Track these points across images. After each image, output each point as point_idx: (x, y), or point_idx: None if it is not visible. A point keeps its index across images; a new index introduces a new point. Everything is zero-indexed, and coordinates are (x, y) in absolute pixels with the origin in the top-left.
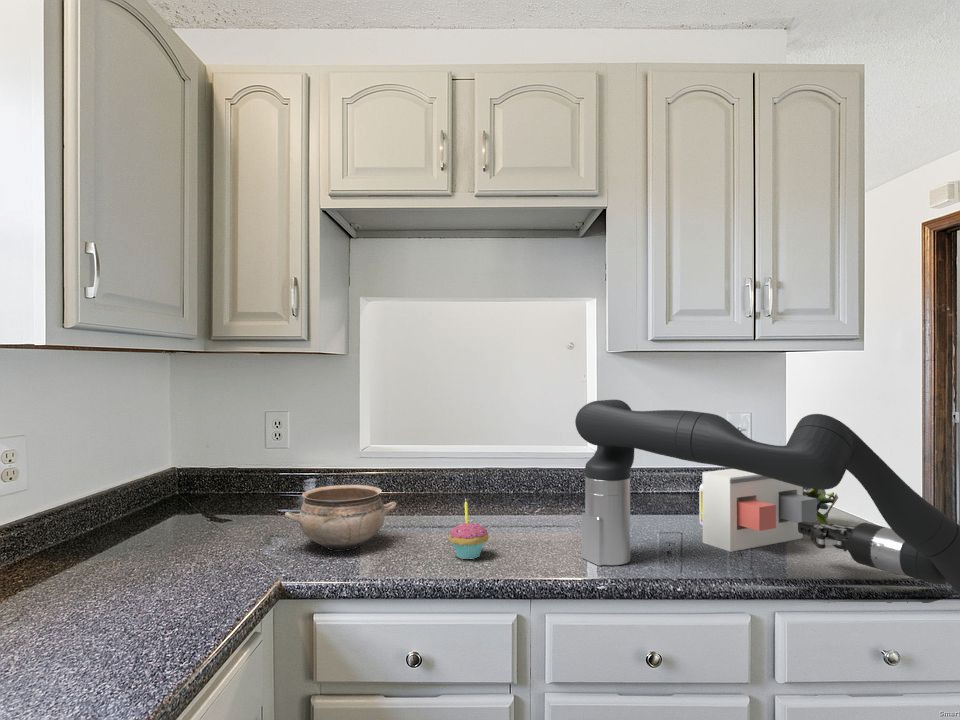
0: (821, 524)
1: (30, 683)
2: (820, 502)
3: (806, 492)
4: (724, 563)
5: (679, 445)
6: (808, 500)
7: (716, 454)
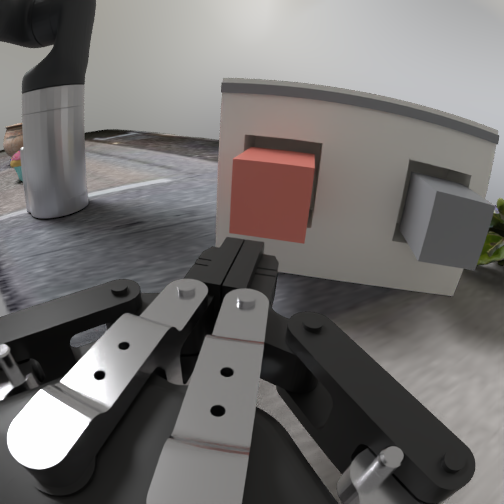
0: (255, 292)
1: None
2: None
3: None
4: (119, 277)
5: None
6: (464, 199)
7: None
